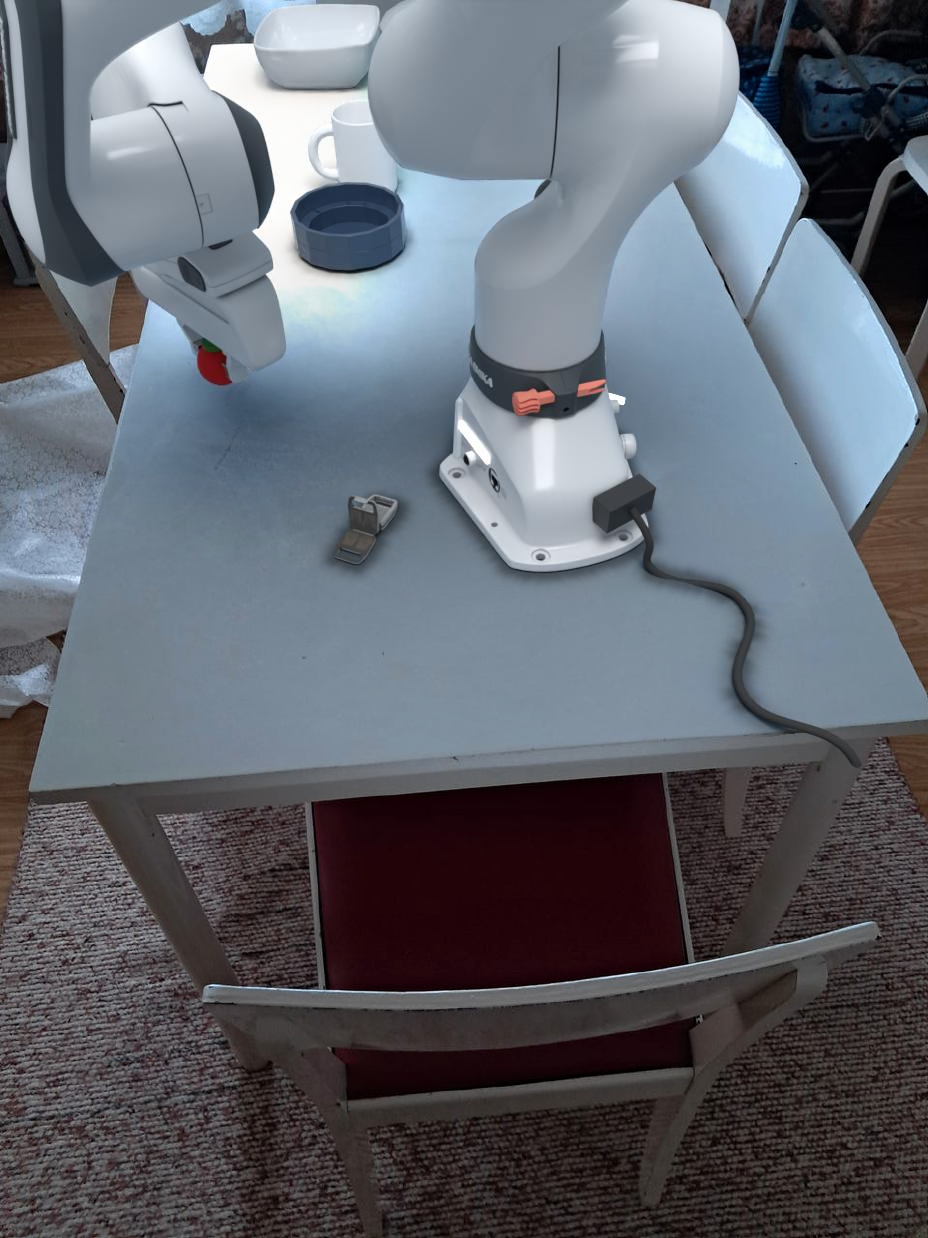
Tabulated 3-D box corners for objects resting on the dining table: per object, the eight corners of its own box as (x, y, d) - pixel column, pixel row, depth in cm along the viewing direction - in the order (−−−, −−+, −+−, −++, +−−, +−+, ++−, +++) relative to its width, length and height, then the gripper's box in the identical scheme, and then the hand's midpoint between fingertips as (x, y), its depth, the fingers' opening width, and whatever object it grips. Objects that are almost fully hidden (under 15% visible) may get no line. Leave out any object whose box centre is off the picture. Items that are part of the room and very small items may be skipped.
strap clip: (373, 498, 84) (368, 464, 81) (401, 506, 83) (397, 473, 80) (331, 558, 79) (324, 525, 76) (360, 567, 78) (354, 534, 75)
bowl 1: (254, 97, 145) (244, 45, 139) (275, 52, 158) (267, 2, 152) (376, 97, 144) (371, 45, 138) (387, 52, 157) (383, 2, 151)
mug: (313, 206, 121) (301, 127, 113) (315, 178, 126) (304, 101, 118) (398, 201, 121) (393, 122, 113) (397, 174, 127) (392, 97, 119)
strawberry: (249, 390, 86) (238, 348, 83) (204, 398, 86) (192, 356, 82) (244, 364, 89) (234, 323, 85) (201, 372, 88) (189, 330, 85)
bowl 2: (417, 263, 111) (415, 225, 107) (308, 282, 109) (302, 243, 105) (390, 212, 120) (387, 175, 116) (288, 228, 117) (282, 191, 113)
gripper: (89, 204, 79) (137, 338, 89) (221, 288, 69) (256, 426, 80) (149, 180, 81) (188, 313, 92) (284, 258, 72) (310, 395, 83)
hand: (221, 366), depth 86 cm, fingers closed on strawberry, 4 cm apart
